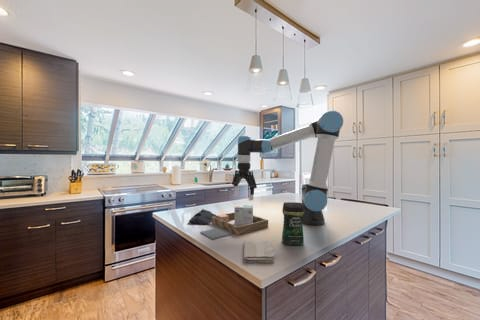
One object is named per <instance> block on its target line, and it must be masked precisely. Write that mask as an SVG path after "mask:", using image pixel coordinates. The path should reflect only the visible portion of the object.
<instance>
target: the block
mask: <svg viewBox="0 0 480 320" xmlns="http://www.w3.org/2000/svg"><path fill="white" fill-rule="evenodd" d="M225 214H226V213H224V214H218V215H217V214H216V215H217V218H218V219H220V220H223V221H225V222H228V223H230V220H229V216H228V215H225Z"/></svg>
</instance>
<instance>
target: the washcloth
mask: <svg viewBox="0 0 480 320" xmlns="http://www.w3.org/2000/svg"><path fill="white" fill-rule="evenodd" d="M274 257H275V253H274V248H273V246H272V243H271V241H270V240H261V241H255V240H249V241H248V240H246V241H244V242H243V261H244V263H250V264H273V263H274V262H275V261H274V260H275V259H274Z"/></svg>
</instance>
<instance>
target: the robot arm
mask: <svg viewBox="0 0 480 320" xmlns="http://www.w3.org/2000/svg"><path fill="white" fill-rule="evenodd" d="M343 125H344V117H343V115H342V114H341V113H340V112H338V111H336V110H327V111H324V112H323V113H322V114H320V116H319V118H317V119H316V120H314V121H312V122H309V123H308V125H306V126H303V127H299V128H297V129H294V130H292V131H288V132H285V133H282V134H280V135H277V136H273V137H271V138H268V139H252V138H251V136H249V135H240V136H238V139H237V169H236V170H234V176H233V179H232V182H231V185H233V191H234V192H233V193H234V194H233V197H234V198H238V197H239V195H240V193H239V191H240V189H239V188H240V187H239V184H240V182H241V181H242V179H244V180H245V182H246V183H247V185H248V187H249V189H248V201H250V202H251V201H254V195H255V189H257V188H258V186H257V183H256V180H255V177H254V171H253V170H251V153H259V154H260V153H261V154H267V153H271V152H272V151H275V150H278V149H280V148H283V147H286V146H290V145H293V144H296V143H299V142H301V141H306V140H307V139H312V138H314V139H316V138H317V142H316V148H315V150H314V151H315V152H314V156H313V161H312V162H313V163H312V168H311V173H310V177H309V181H308V182H306V183H303V184H301V188H300V189H301V203H302V204H303V207H304V214H303V217H302V225H303V224H304V225H308V226H323V225H325V223H326V219H325V216H324V214H323V213H324V212H323V210H324V209H325V208H326V206H327V204H328V197H327V195H328V192H329V191H328V190H329V187H328V185H327V181H328V175H329V170H330V167H331V160H332V156H333V152H334V151H333V150H334V146H335V141H337V139H339V137H340V133H341V132H340V131H341V129H342V128H343Z"/></svg>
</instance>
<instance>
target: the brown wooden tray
mask: <svg viewBox="0 0 480 320" xmlns="http://www.w3.org/2000/svg"><path fill="white" fill-rule="evenodd" d="M224 214H225V215H228V216H229V221H232V220H235V211H234V212H229V213H224ZM211 225H215V226H216V227H217V228H219V227H220V228H223V229H225V230H227V231H229V232H231V233H233V235H237V236H240V235H244V234H248V233H252V232H256V231H259V230H263V229H266V228H269V219H266V218H263V217H260V216H258V215H257V216H256V215H254V214H253V223H252V224H247V225H243V226H240V225H235V224H233V223H230V222H229V223H228V222H225V221H223V220H220V219H218V218H217V216H213V217H212V222H211Z"/></svg>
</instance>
